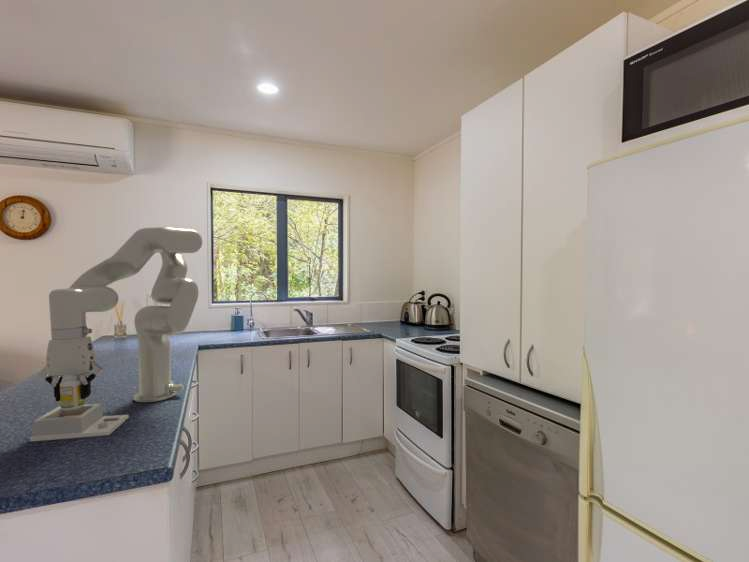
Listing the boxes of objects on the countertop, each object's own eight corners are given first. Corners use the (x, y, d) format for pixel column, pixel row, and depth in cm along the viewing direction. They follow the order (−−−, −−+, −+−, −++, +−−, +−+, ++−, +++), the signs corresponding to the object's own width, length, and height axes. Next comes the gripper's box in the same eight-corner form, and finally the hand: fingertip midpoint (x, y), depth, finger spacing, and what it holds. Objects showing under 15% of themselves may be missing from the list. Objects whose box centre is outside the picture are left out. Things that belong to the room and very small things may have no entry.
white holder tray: (128, 417, 111) (128, 401, 111) (108, 435, 100) (108, 416, 100) (58, 423, 108) (58, 405, 108) (29, 441, 96) (29, 422, 96)
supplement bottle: (63, 412, 100) (61, 377, 99) (58, 407, 103) (56, 373, 103) (88, 406, 104) (86, 372, 104) (83, 401, 108) (81, 368, 107)
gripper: (111, 329, 108) (114, 391, 109) (42, 332, 105) (46, 396, 106) (97, 334, 101) (101, 400, 102) (22, 338, 97) (27, 406, 98)
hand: (73, 397), depth 104 cm, fingers closed on supplement bottle, 5 cm apart
